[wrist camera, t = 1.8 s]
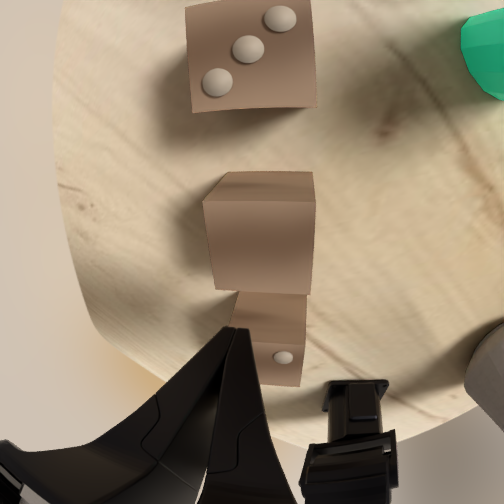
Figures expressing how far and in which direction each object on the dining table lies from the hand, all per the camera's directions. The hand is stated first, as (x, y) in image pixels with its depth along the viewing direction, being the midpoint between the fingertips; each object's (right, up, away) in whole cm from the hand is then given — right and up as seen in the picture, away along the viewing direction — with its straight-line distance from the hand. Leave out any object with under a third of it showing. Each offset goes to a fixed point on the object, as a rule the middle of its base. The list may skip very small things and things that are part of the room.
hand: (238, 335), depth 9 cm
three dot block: (+1, +13, +4) cm, 14 cm away
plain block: (+2, +5, +9) cm, 10 cm away
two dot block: (+2, -2, +13) cm, 14 cm away
